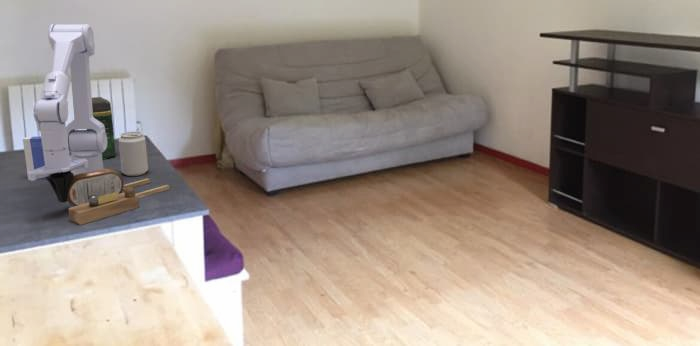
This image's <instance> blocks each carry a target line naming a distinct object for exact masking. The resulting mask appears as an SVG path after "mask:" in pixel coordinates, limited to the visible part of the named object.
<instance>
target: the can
mask: <svg viewBox="0 0 700 346" xmlns="http://www.w3.org/2000/svg"><path fill="white" fill-rule="evenodd" d="M119 135H120V137H119V138H118V141H117V142H118V148H119V149H118V150H119V160H120V167H121V169H120V170H121V173H122V174H123V175H124V176H127V177H135V176H136V177H137V176H143V175H144V174H146V173H147V172H148V171H149V164H148V153H147V142H146V137H145V135H144V134H143V132H141V131H137V130H136V131H135V130H134V131H126V132H123V133H120V134H119Z"/></svg>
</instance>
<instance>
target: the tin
mask: <svg viewBox="0 0 700 346" xmlns="http://www.w3.org/2000/svg"><path fill="white" fill-rule="evenodd" d="M124 185H125V183H124V179H123V177H122V176H121V174H119V173H118V171H116V170H114V169H112V168H103V169H102V170H97V171H92V172H86V173H81V174H76V175H74V178H73V179H72V182H71V184H70V187H69V191H68V196H67V202H68V203H69V204H70V205H72V206H73V207H75V206H79V205H82V204H86V203H89V199H88V196H90V195H98V196H101V195H105V194H109V193H113V192H116V193H117V194H121V193H123V191H124V190H123V187H124Z"/></svg>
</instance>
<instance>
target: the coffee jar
mask: <svg viewBox="0 0 700 346" xmlns="http://www.w3.org/2000/svg"><path fill="white" fill-rule="evenodd" d="M92 108H93V117H94V118H95V119H97V120H98V121H100V122H101V123H102V124H104V126H105V132H106V135H107V148H106V150H105V151H104V152H102V160H105V159H109V158H111V157H112V158H113V157H115V156H116V142H115V133H114V123H113V114H112V105H111V102H110V100H108V99H105V98H104V97H102V96H98V97H97V96H96V97H92ZM85 130H93V129H85Z"/></svg>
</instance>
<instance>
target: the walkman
mask: <svg viewBox="0 0 700 346" xmlns="http://www.w3.org/2000/svg"><path fill="white" fill-rule="evenodd" d="M22 144H23V145H22V146H23V150H24V152H23V153H24V156H25V157H24V159H25V164H26V165H25V166H26V173H27V172H28V171H32V170H35V169H37V168H40V167H43V166H45V161H44V154H43V146H42V139H41V135H40V136H39V135H38V136H25V137H23V138H22ZM42 179H46V178H45V177H43V178H42Z"/></svg>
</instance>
